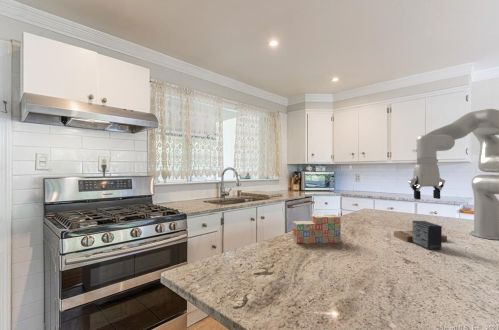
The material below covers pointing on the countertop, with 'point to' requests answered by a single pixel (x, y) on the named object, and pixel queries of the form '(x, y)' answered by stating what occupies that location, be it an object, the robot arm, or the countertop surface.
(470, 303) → the countertop surface
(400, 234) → the walnut board
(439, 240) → the small box
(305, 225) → the stack of blocks
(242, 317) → the countertop surface
